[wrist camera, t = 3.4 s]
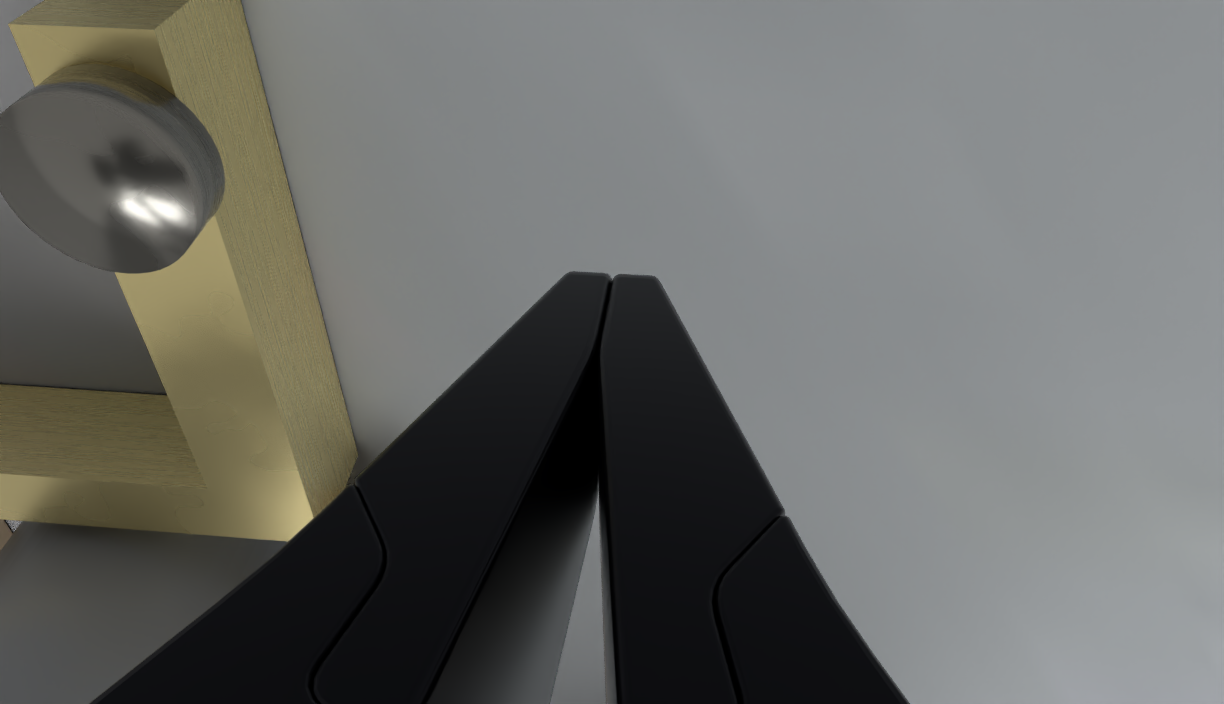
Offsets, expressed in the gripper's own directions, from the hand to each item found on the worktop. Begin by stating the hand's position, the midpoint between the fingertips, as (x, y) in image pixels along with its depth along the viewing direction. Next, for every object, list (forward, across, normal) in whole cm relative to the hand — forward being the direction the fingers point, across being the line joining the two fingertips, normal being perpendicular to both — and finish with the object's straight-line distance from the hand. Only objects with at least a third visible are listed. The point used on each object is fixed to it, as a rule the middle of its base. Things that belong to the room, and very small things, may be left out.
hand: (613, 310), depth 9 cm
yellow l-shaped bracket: (+4, +9, +3) cm, 11 cm away
